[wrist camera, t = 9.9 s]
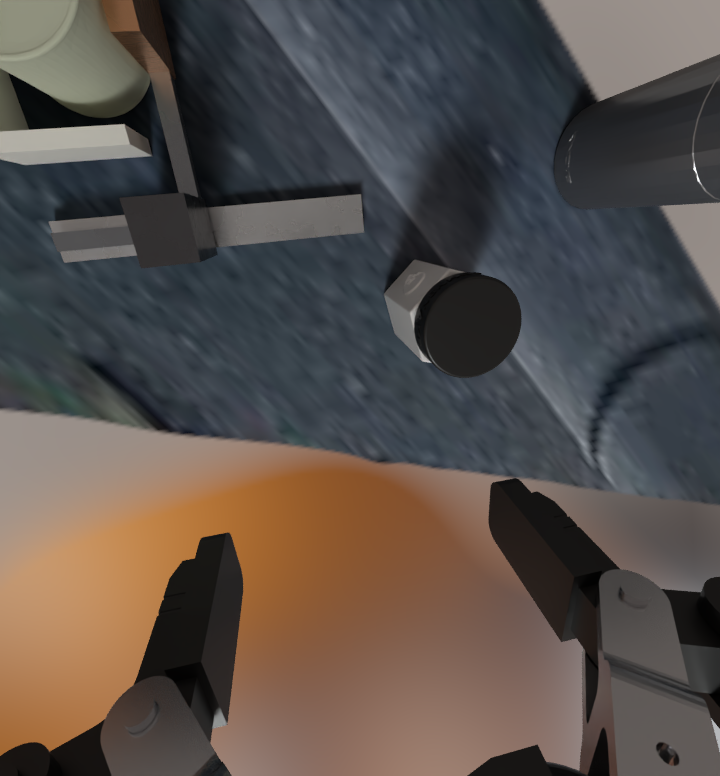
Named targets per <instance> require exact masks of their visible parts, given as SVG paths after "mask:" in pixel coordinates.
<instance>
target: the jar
mask: <svg viewBox="0 0 720 776" xmlns="http://www.w3.org/2000/svg"><path fill="white" fill-rule="evenodd" d="M384 296H385V300H386V304H387V307H388V311H389V315H390V318H391V322H392V326H393V329H394V333H395V334H396V335H397V336H398V337H399V338H400V339H401V340H402V341H403V342H404V343H405V344H406V345H407V346H408V347H409V348H410V349H411V350H412V351H413V352H414V353H415V354H416V355H417V356H418V357H419V358H420V359H421V360H422V361H423V362H429V363H432V364H433V365H434V366H435V367H437V368H438V369H439V370H440V371H442V372H444V373H446V374H448V375H450V376H454V377H459V378H469V377H475V376H479V375H482V374H484V373H486V372H488V371H490V370H492V369H493V368H495V367H496V366H498V365H499V364H500V363H501V362H502V361H503V360H504V359H505V358H506V357H507V356H508V355H509V353H510V352H511V350H512V349H513V347H514V345H515V343H516V341H517V339H518V336H519V332H520V328H521V309H520V305H519V302H518V300H517V297H516V296H515V294H514V293H513V291H512V290H511V289H510V288H509V287H508V286H507V285H506V284H505V283H503V282H502V281H500V280H498V279H496V278H493V277H489V276H485V275H481V273H476V272H473V273H472V272H465V271H462V270H458V269H454V268H450V267H445V266H441V265H437V264H433V263H429V262H425V261H420V260H416V259H415V260H413V261H412V262H411V264H410V265H409V266H408V267H407V268H406V269H405V270H404V271H403V273H402V274H401V275H400V276H399V277H398V278H397V279H396V280H395V282H394V283H393V284H392V285H391V286H390V287H389V288H388V289H387V291H386V292H385V293H384Z"/></svg>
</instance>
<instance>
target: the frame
mask: <svg viewBox="0 0 720 776" xmlns="http://www.w3.org/2000/svg"><path fill="white" fill-rule="evenodd" d="M146 156H152V153H151V149H150V145H149V141H148V139H147V138H145V137H144V136H142V135H141V134H139V133H138V132H136V131H134V130H133V129H131V128H130V127H128V126H126V125H125V124H119V125H102V126H85V127H69V128H52V129H35V130H29V128H28V125H27V122H26V120H25V117H24V114H23V112H22V109H21V106H20V104H19V101H18V98H17V95H16V93H15V90H14V87H13V85H12V82H11V79H10V77H9V74H8V72H6V71H4V70H3V69H1V68H0V159H2V160H6V161H10V162H15V163H19V164H23V165H33V164H47V163H61V162H75V161H89V160H104V159H118V158H132V157H146Z"/></svg>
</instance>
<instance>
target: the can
mask: <svg viewBox="0 0 720 776" xmlns="http://www.w3.org/2000/svg"><path fill="white" fill-rule="evenodd" d="M0 68H1V69H3V70H4V71H6V72H8V73H10V74H12V75H14V76H16V77H17V78H19V79H21V80H23V81H25V82H27V83H28V84H30V85H32V86H34V87H36V88H37V89H39V90H41V91H43V92H44V93H46V94H48V95H50V96H51V97H52V98H53V99H55V100H56V101H57V102H59V103H60V104H62V105H63V106H65V107H67V108H68V109H70V110H72V111H75V112H77V113H80V114H82V115H85V116H90V117H95V118H111V117H116V116H119V115H122V114H125V113H127V112H128V111H130V110H131V109H133V108H134V107H135V106H136V105H137V104H138V103H139V102H140V101H141V100H142V98H143V97H144V95H145V93H146V91H147V89H148V87H149V84H150V80H151V79H150V75H149V74H148V73H147V72H146V71H145V69H144V68H143V67H142V66H141V65H140V64H139V63H138V62H137V61H136V60H135V58H134V57H133V56H132V55H131V54H130V53H129V52H128V51H127V50H126V49H125V47H124V46H123V45H122V44H121V43H120V42H119V41H118V40H117V39H116V38H115V36H114V35H113V34H112V33H111V32H110V29H109V25H108V22H107V18H106V14H105V11H104V7H103V3H102V0H0Z"/></svg>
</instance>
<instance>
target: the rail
mask: <svg viewBox="0 0 720 776" xmlns="http://www.w3.org/2000/svg"><path fill="white" fill-rule="evenodd" d="M207 210H208V214H209V218H210V222H211V226H212V231H213V235H214V240H215V245H216V247H224V246H234V245H244V244H254V243H263V242H273V241H283V240H293V239H303V238H313V237H323V236H333V235H343V234H352V233H362V232H364V226H363V213H362V200H361V194H357V195H346V196H335V197H323V198H312V199H301V200H289V201H278V202H267V203H255V204H244V205H233V206H221V207H210V208H207ZM49 224H50V227H51V229H52V232H53V233H58V232H69V231H80V230H91V229H101V228H112V227H123V226H128V224H127V221H126V218H125V215H119V216H108V217H96V218H85V219H74V220H62V221H51V222H49ZM60 253H61V255H62V258H63V260H64V263H66V262H76V261H86V260H95V259H105V258H115V257H125V256H135V255H137V254H136V250H135V247H134V244H133V245H123V246H113V247H103V248H92V249H82V250H72V251H62V252H60Z"/></svg>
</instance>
